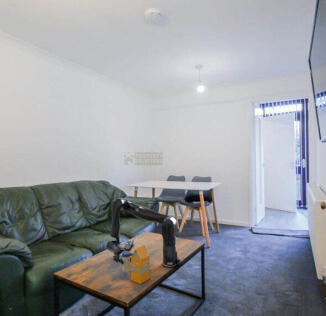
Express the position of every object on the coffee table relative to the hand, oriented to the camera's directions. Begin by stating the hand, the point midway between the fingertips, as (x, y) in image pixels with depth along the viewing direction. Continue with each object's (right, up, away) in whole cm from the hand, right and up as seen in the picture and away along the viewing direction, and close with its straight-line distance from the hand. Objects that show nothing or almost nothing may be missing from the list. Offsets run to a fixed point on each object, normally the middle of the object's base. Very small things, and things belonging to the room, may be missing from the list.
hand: (127, 261), depth 156 cm
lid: (-1, +5, +2) cm, 5 cm away
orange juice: (+8, -9, -5) cm, 13 cm away
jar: (-1, -6, +2) cm, 7 cm away
